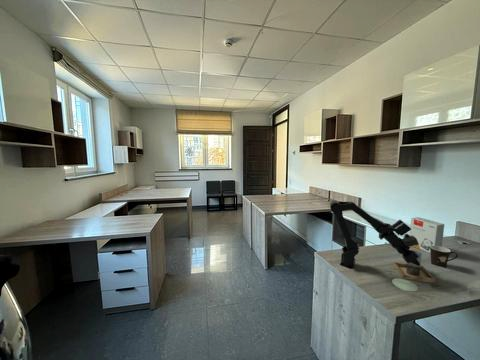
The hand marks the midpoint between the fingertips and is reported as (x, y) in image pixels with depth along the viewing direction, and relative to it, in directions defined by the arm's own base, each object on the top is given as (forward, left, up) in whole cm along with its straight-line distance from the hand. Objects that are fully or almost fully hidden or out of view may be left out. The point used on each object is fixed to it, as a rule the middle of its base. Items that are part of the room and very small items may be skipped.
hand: (417, 262), depth 111 cm
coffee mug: (+9, +22, -7) cm, 25 cm away
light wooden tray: (-1, -1, -7) cm, 7 cm away
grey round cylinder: (-1, -1, -7) cm, 7 cm away
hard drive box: (-1, +43, -7) cm, 44 cm away
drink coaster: (-2, -16, -7) cm, 17 cm away
